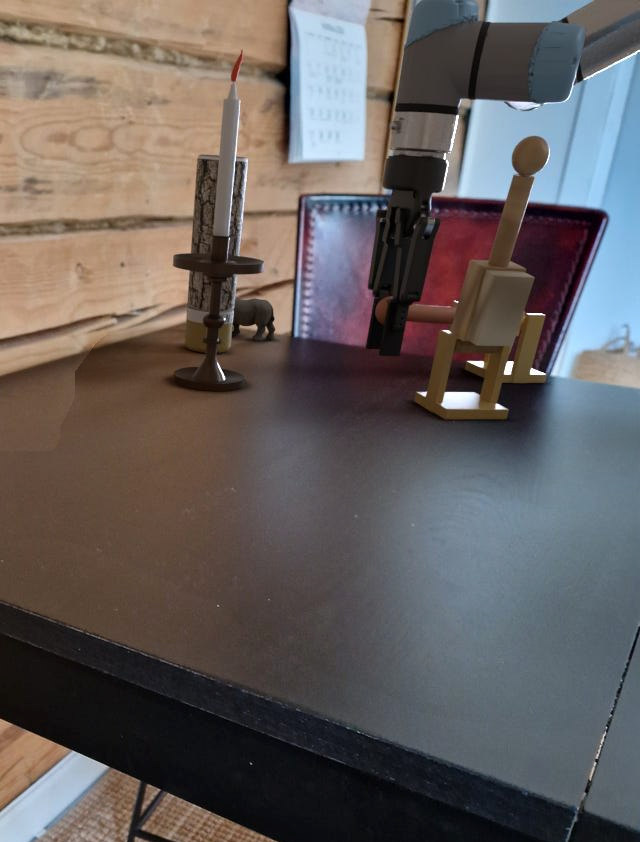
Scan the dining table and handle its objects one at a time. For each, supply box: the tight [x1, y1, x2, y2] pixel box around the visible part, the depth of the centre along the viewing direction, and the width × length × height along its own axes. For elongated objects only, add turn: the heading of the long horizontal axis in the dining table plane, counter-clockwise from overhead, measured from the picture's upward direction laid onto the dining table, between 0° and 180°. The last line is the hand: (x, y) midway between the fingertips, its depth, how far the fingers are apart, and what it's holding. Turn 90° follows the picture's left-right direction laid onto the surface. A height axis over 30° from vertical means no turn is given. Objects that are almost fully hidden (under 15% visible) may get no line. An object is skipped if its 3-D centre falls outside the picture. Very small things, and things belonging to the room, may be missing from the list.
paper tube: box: [184, 153, 249, 354], centre depth 120 cm, size 7×7×25 cm
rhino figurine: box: [231, 296, 276, 342], centre depth 136 cm, size 4×14×6 cm, turn 68°
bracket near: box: [413, 329, 512, 420], centre depth 101 cm, size 8×8×9 cm
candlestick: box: [172, 49, 265, 392], centre depth 100 cm, size 11×11×35 cm
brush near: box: [451, 135, 550, 354], centre depth 93 cm, size 22×5×6 cm
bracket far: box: [464, 312, 548, 384], centre depth 120 cm, size 8×8×9 cm
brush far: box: [375, 297, 526, 355], centre depth 117 cm, size 22×5×6 cm, turn 102°
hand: (382, 351), depth 117 cm, fingers closed on brush far, 4 cm apart
